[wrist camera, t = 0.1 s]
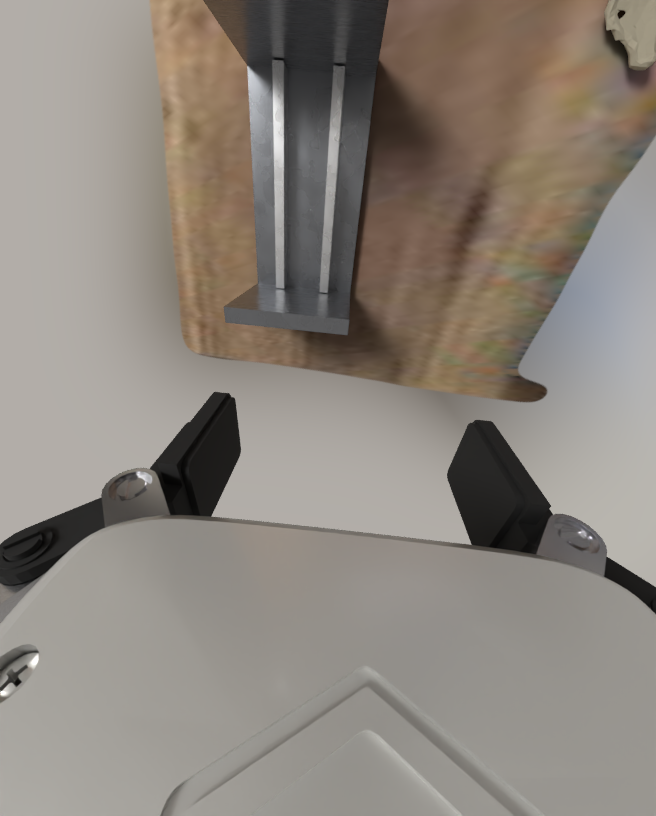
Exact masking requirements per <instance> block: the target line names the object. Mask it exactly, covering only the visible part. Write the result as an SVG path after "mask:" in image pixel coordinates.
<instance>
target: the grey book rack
mask: <svg viewBox="0 0 656 816" xmlns="http://www.w3.org/2000/svg"><path fill="white" fill-rule="evenodd" d="M203 1H204V2H205V4H206V5H207V6H208V8H209V9H210V11H211V12H212V14H213V15H214V17H215V18H216V20H217V21H218V23H219V24H220V26H221V27H222V29H223V30H224V32H225V33H226V34H227V36H228V37H229V39H230V40H231V42H232V43H233V45H234V46H235V48H236V49H237V51H238V52H239V54H240V55H241V57H242V58H243V60H244V61H245V62H246V64H247V67H248V87H249V108H250V128H251V149H252V169H253V190H254V210H255V231H256V251H257V272H258V284H256V285H255V286H253V287H252V288H250V289H249V290H247V291H246V292H245V293H243V294H242V295H240V296H239V297H237V298H236V299H234V300H233V301H231V302H230V303H229V304H227V305H226V306H224V313H225V322H226V323H235V324H245V325H255V326H264V327H274V328H283V329H293V330H303V331H312V332H322V333H331V334H341V335H348V327H349V316H350V289H351V280H352V272H353V263H354V255H355V247H356V238H357V230H358V221H359V213H360V204H361V196H362V188H363V179H364V171H365V162H366V154H367V146H368V137H369V129H370V120H371V112H372V103H373V95H374V87H375V78H376V72H377V66H378V60H379V54H380V48H381V42H382V37H383V31H384V25H385V19H386V13H387V7H388V1H389V0H203Z"/></svg>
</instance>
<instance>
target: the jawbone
mask: <svg viewBox="0 0 656 816" xmlns="http://www.w3.org/2000/svg"><path fill="white" fill-rule="evenodd" d="M618 10H625V12H626V13H625V15H624V16H623V17H622V18H620V19H619V18H618V16H617V14H618V12H619V11H618ZM604 15H605V19H606V30H611V31H612V33H613V36H614V38H615V40H620V41H621V42H622V43H623V44H624V46H625V49H626V51H627V54H628V64H629V68H631V69H633V70H645V69H647V68H648V67H650V66H652V65H653V63H654V62H655V60H656V0H609V1H608V5H607V7H606V10H605V12H604Z"/></svg>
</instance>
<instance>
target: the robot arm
mask: <svg viewBox="0 0 656 816" xmlns="http://www.w3.org/2000/svg"><path fill="white" fill-rule="evenodd" d="M240 452H241V447H240V437H239V429H238V420H237V411H236V403H235V398H233V397H231V395H230V394H229V393H220V392H214V393H213V394H212V395H211V396H210V398H209V399H208V400H207V401H206V403H205V404H204V405H203V407H202V408H201V409H200V410H199V411H198V413H197V414H196V415H195V416H194V418H193V419H192V420H191V422H188V423H187V424H186V425H185V426H184V427H183V428H182V429H181V431H180V432H179V433H178V434H177V436H176V437H175V438H174V439H173V441H172V442H171V443H170V444H169V445H168V447H167V448H166V449H165V450H164V452H163V453H162V454H161V455H160V457H159V458H158V459H157V460H156V462H155V463H154V464H153V465H152V466H151V468H150V469H147V468H135V469H131V470H127V471H125V472H122V473H120V474H118V475H116V476H115V477H113V478H112V479H111V480H110V481H109V482H108V483H106V485H105V487H104V488H103V490H102V495H101V496H102V498H99V499H97V500H94V501H92V502H89V503H87V504H85V505H82V506H79V507H77V508H75V509H72V510H70V511H67V512H65V513H62V514H60V515H57V516H55V517H53V518H50V519H48V520H45V521H43V522H40V523H38V524H35V525H33V526H31V527H28V528H26V529H24V530H22V531H19V532H18V533H15V534H14V535H12V536H11V537H9V538H8V539H6V540H5V541H4V542H2V543H1V544H0V816H656V587H654V586H653V585H651V584H650V583H648V582H646V581H645V580H643V579H642V578H640V577H638V576H637V575H635V574H634V573H632V572H630V571H629V570H627V569H626V568H624V567H622V566H621V565H619V564H618V563H616V562H615V561H613V560H611V559H610V558H608V557H607V549H606V545H605V543H604V541H603V540H602V538H601V537H600V536H599V535H598V534H597V533H596V531H594V530H593V529H592V528H591V527H590V526H588V525H587V524H585V523H583V522H582V521H580V520H578V519H576V518H574V517H572V516H569V515H565V514H554V515H553V514H552V512H551V511H550V510H549V508H550V507H551V505H550V504H549V502H548V501H547V499H546V498H545V497H544V495H543V494H542V492H541V491H540V489H539V488H538V486H537V485H536V484H535V482H534V481H533V479H532V478H531V477H530V475H529V474H528V472H527V471H526V470H525V468H524V466H523V465H522V463H521V462H520V461H519V459H518V458H517V456H516V455H515V453H514V452H513V451H512V449H511V448H510V446H509V445H508V443H507V442H506V440H505V439H504V438H503V436H502V435H501V433H500V432H499V430H498V429H497V428H496V426H495V425H494V424H493V422H491V421H483V420H475V421H474V422H473V423H470V424H469V425H468V426H467V429H466V431H465V433H464V436H463V438H462V440H461V442H460V445H459V447H458V449H457V452H456V454H455V456H454V458H453V461H452V463H451V465H450V467H449V470H448V473H447V478H448V481H449V484H450V487H451V490H452V492H453V495H454V498H455V501H456V503H457V506H458V509H459V511H460V514H461V517H462V520H463V522H464V525H465V527H466V530H467V533H468V536H469V539H470V541H471V544H472V545H467V544H458V543H450V542H441V541H432V540H424V539H416V538H406V537H399V536H390V535H381V534H372V533H363V532H354V531H345V530H335V529H326V528H318V527H309V526H299V525H290V524H280V523H270V522H261V521H252V520H242V519H230V518H220V517H211V516H212V513H213V511H214V509H215V507H216V505H217V503H218V501H219V499H220V497H221V494H222V492H223V490H224V488H225V486H226V484H227V482H228V480H229V477H230V476H231V473H232V471H233V469H234V467H235V465H236V463H237V461H238V458H239V456H240Z"/></svg>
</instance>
